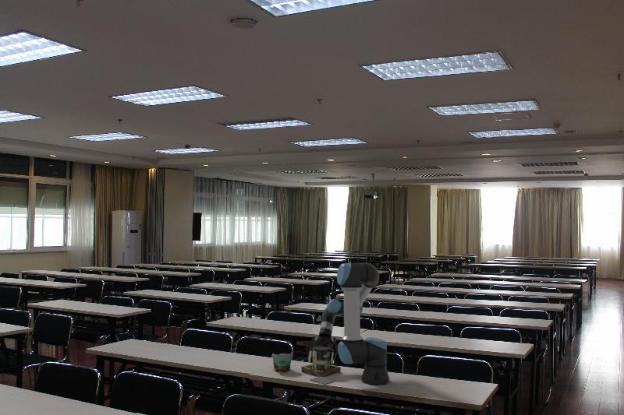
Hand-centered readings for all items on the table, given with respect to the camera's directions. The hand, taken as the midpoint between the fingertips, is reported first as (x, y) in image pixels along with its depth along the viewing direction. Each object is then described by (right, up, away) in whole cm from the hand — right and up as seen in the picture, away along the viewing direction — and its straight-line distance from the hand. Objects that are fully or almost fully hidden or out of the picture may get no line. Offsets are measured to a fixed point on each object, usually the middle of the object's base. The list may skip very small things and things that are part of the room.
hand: (320, 362), depth 338 cm
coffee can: (0, -6, +2) cm, 7 cm away
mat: (+1, -6, -15) cm, 17 cm away
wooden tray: (0, -6, +2) cm, 7 cm away
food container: (-22, -6, +4) cm, 23 cm away
